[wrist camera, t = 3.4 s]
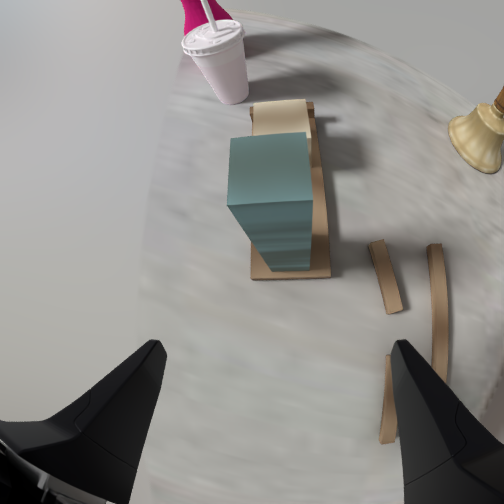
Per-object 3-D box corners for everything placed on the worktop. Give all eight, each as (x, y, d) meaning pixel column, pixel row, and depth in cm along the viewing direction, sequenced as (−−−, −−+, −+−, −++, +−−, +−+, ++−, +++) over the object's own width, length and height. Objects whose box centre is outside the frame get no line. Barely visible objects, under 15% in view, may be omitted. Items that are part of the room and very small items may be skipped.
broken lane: (434, 428, 16) (438, 432, 15) (365, 441, 18) (367, 446, 17) (436, 240, 21) (440, 237, 20) (368, 242, 22) (370, 239, 21)
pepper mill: (200, 46, 34) (156, -49, 15) (244, 38, 33) (210, -66, 14) (191, 70, 32) (135, -37, 13) (240, 62, 31) (197, -59, 12)
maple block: (311, 167, 24) (311, 137, 19) (262, 170, 24) (253, 142, 20) (307, 130, 25) (305, 98, 20) (261, 133, 26) (253, 103, 21)
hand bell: (438, 114, 24) (478, 11, 9) (484, 121, 22) (529, 38, 7) (462, 172, 22) (534, 71, 6) (508, 176, 20) (576, 98, 5)
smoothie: (249, 115, 28) (214, 10, 14) (200, 110, 29) (151, 20, 16) (267, 80, 29) (243, -15, 16) (221, 77, 31) (186, -8, 17)
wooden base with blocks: (329, 278, 22) (363, 211, 9) (252, 280, 23) (181, 222, 10) (313, 117, 26) (306, 3, 13) (254, 121, 27) (219, 13, 14)
